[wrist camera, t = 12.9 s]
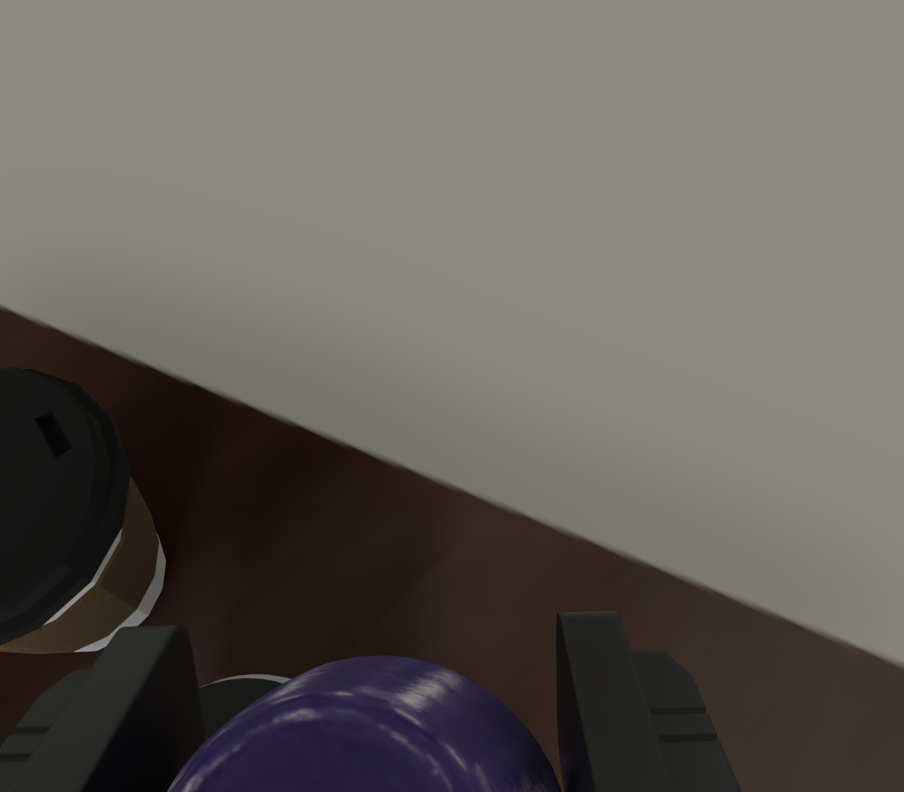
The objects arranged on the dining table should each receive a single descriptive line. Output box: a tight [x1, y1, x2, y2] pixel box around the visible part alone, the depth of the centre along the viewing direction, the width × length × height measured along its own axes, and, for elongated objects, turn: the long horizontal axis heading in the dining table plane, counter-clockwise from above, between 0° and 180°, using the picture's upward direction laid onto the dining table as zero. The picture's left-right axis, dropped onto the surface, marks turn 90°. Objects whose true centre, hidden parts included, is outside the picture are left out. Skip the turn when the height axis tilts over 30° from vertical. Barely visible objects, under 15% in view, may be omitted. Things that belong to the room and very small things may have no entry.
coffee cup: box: [0, 368, 166, 654], centre depth 35 cm, size 11×11×12 cm
